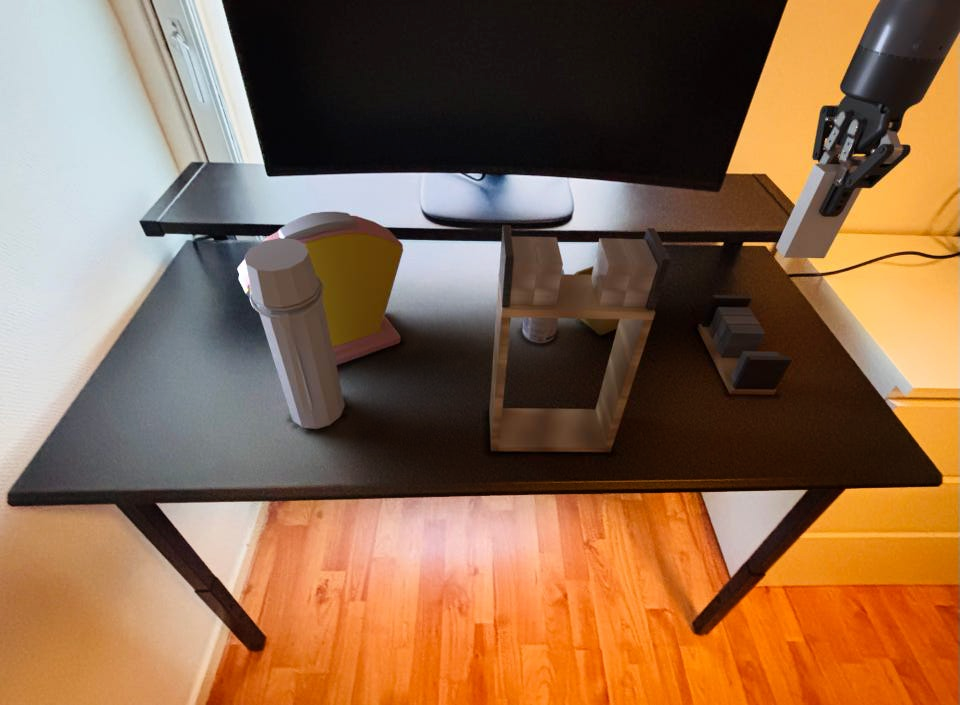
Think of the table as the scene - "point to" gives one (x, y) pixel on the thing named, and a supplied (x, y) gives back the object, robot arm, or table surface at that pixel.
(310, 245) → the yellow napkin holder
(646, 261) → the wooden book holder
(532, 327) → the energy drink
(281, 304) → the water bottle
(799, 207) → the white book
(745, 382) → the grey rack
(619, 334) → the birch stand
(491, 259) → the table surface
